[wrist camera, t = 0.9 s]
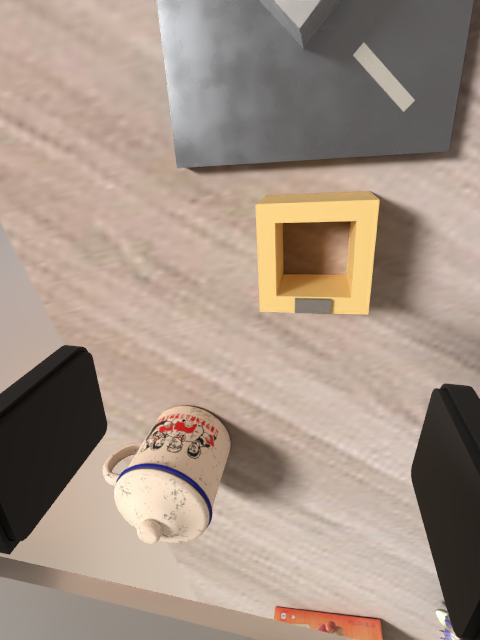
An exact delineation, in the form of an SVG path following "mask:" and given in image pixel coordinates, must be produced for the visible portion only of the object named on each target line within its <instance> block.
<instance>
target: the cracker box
mask: <svg viewBox="0 0 480 640" xmlns="http://www.w3.org/2000/svg"><path fill="white" fill-rule="evenodd" d="M274 620H276V621H281V622H285V623H289V624H293V625H297V626H302V627H306V628H310V629H314V630H318V631H323V632H327V633H331V634H335V635H339V636H344V637H348V638H352V639H356V640H383V635H382V628H381V621H380V620H379V619H370V618H362V617H354V616H346V615H338V614H330V613H321V612H314V611H305V610H298V609H290V608H282V607H276V608H275V615H274Z"/></svg>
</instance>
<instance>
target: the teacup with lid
mask: <svg viewBox="0 0 480 640" xmlns="http://www.w3.org/2000/svg"><path fill="white" fill-rule="evenodd" d="M230 447H231V443H230V437H229V434H228V432H227V430H226V428H225V427H224V425H223V424H222V423H221V422H220V421H219V420H218V419H217V418H216V417H215V416H213V415H212V414H210V413H209V412H207V411H205V410H202V409H200V408H196V407H191V406H177V407H173V408H170V409H168V410H166V411H165V412H163V413H162V414H161V415H160V416H159V418H158V419H157V421H156V422H155V424H154V426H153V427H152V429H151V431H150V432H149V434H148V435H147V437H146V439H145V440H144V442H143V443H133V444H128V445H126V446H123V447H121V448H120V449H118V450H117V451H115V452H114V453H113V454H112V455H111V456H110V457H109V458H108V459H107V460H106V462H105V464H104V466H103V475H104V478H105V480H106V481H107V482H108V483H109V484H111V485H113V486H115V491H114V496H115V502H116V505H117V508H118V510H119V511H120V513H121V515H122V516H123V517H124V518H125V520H126V521H127V522H128V523H130V525H132V526H133V527H134V528H135V529H137V534H138V537H139V538H140V539H141V540H142V541H144V542H146V543H149V544H153V543H156V542H157V541H158V540H161V541H165V542H173V543H179V542H187V541H190V540H193V539H195V538H197V537H198V536H200V535H201V534H202V533H203V532H204V531H205V530H206V528H207V527H208V526H209V524H210V522H211V519H212V507H213V503H214V500H215V497H216V494H217V491H218V487H219V484H220V481H221V478H222V475H223V471H224V468H225V465H226V462H227V458H228V455H229V452H230ZM134 454H136V455H135V456H134V458H133V460H132V461H131V463H130V465H129V466H128V468H127V469H126V470H124V471H123V472H122V473H121V474H115V473H113V472H112V469H113V468H114V467H115V465H116V464H117V463H118V462H119V461H121V460H122V459H124V458H126V457H128V456H130V455H134Z"/></svg>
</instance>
